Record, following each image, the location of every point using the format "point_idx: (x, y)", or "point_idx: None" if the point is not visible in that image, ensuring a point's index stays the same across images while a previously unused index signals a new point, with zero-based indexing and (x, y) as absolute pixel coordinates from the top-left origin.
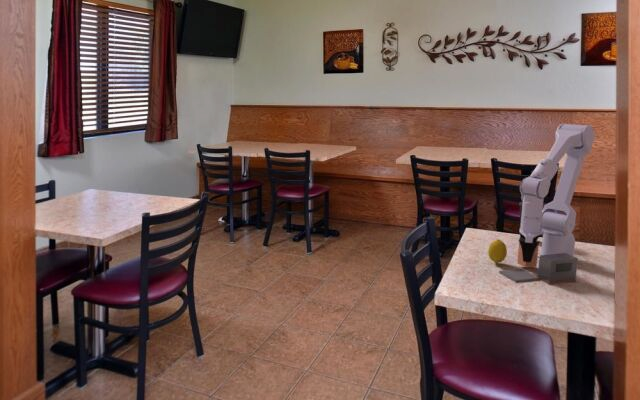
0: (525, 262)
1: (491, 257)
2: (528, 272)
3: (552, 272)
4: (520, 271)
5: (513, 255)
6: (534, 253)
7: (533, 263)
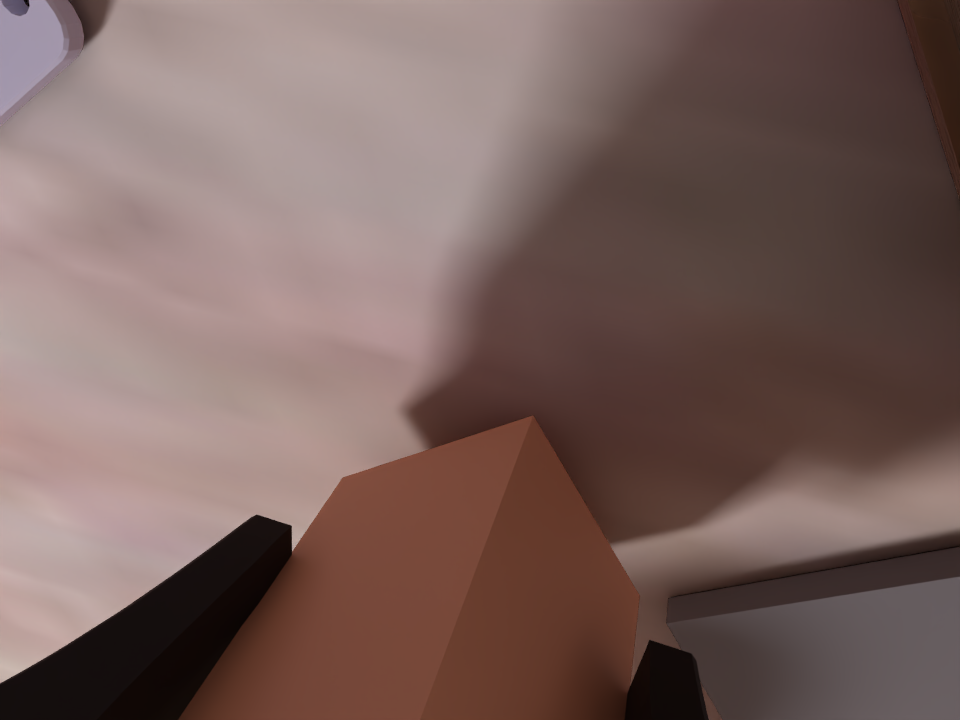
0: (624, 672)
1: None
2: (874, 606)
3: None
4: (825, 689)
5: (50, 505)
6: (503, 708)
7: (555, 515)
